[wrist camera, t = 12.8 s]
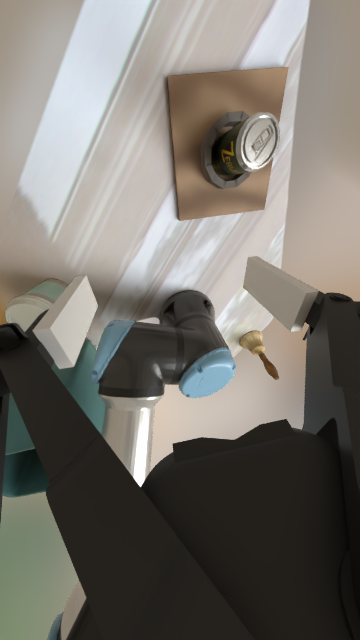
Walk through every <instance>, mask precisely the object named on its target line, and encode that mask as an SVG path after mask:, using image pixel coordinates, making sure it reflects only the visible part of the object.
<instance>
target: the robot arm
mask: <svg viewBox="0 0 360 640" xmlns="http://www.w3.org/2000/svg"><path fill="white" fill-rule="evenodd" d="M243 288H244V289H246V290H247V291H248V292H249V293H250V294H251V295H252V296H253V297H254V298H255V299H256V300H257V301H258V302H259V303H260V304H261V305H263V306H264V307H265V308H266V309H267V310H268V311H269V312H270V313H271V314H272V315H273V316H274V317H275V318H277V320H279V321H280V322H281V323H282V324H283V325H284V326H285V327H286V328H287V329H288V330H289V331H290V332H291V331H297V330H302V327H303V325H304V323H305V322H306V323H307V324H309V325H310V326H309V328H308V330H307V332H306V334H305V336H304V338H303V340H305V339H306V338H307V349H306V378H305V380H306V381H305V406H304V425H303V428H302V430H301V429H296V428H292V427H291V426H290V424H289V423H288V421H287V420H286V419H284V420H279V421H275V422H270V423H266V424H261V425H259V426H257V427H255V428H254V429H252V430H251V431H249V432H247V433H246V434H244V435H242V436H241V437H239V438H237V439H235V440H227V439H216V438H202V437H201V438H197V439H192V440H188V441H183V442H178V443H174V444H173V453H171V454H169V455H168V456H166V457H165V458H164V459H163V460H161V461H160V462H159V463H158V464H157V465H156V466H155V467H154V468H153V470H152V471H151V472H150V461H151V447H152V435H153V422H154V410H155V404H156V403H157V402H158V401H159V400H160V399H161V398H162V397H163V396H164V387H165V384H172V385H173V384H174V385H179V389H180V391H181V392H182V394H183V395H186V396H187V397H190V398H200V397H204V396H208V395H211V394H213V393H215V392H217V391H218V390H220V389H222V388H223V387H225V386H226V385H227V384H228V383H229V382H230V381H231V379H232V378H233V376H234V374H235V369H236V366H235V363H234V360H233V357H232V355H231V351H230V350H229V348H228V346H227V344H226V343H225V341H224V339H223V337H222V335H221V334H220V332H219V330H218V328H217V326H216V325H215V311H214V307H213V305H212V303H211V301H210V300H209V298H208V297H207V296H206V295H204V294H203V293H200V292H197V291H183V292H180V293H177V294H175V295H173V296H172V297H171V298H169V299H168V300H167V301H166V303H165V304H164V306H163V308H162V311H161V320H162V325H159V324H151V323H143V322H136V321H135V320H133V321H123V320H114V321H112V322H110V323H109V324H108V325H107V326H106V328H105V330H104V332H103V334H102V337H101V339H100V342H99V345H98V348H97V351H96V354H95V358H94V361H93V366H92V372H91V376H90V380H91V382H93V383H95V384H98V383H99V389H98V396H99V397H100V398H101V400H102V401H103V402H104V403H105V412H104V419H103V426H102V433H101V434H100V432H99V431H98V430H97V428H96V427H95V426H94V424H93V423H92V422H91V420H90V419H89V418H88V416H87V415H86V414H85V412H84V411H83V410H82V408H81V407H80V406H79V404H78V403H77V402H76V400H75V399H74V398H73V396H72V395H71V394H70V392H69V391H68V390H67V388H66V387H65V386H64V384H63V383H62V382H61V380H60V379H59V378H58V376H57V375H56V374H55V372H54V371H53V370H52V366H53V364H54V362H55V364H56V365H57V366H58V368H59V369H63V368H69V367H74V365H75V363H76V360H77V358H78V355H79V353H80V350H81V348H82V345H83V343H84V340H85V338H86V335H87V332H88V330H89V327H90V325H91V322H92V320H93V317H94V315H95V312H96V310H97V307H98V305H97V302H96V299H95V297H94V294H93V291H92V289H91V286H90V284H89V281H88V278H87V276H86V275H83V276H76V277H75V278H74V279H73V280H72V282H71V283H70V284H69V285H68V287H67V288H66V289H65V290H64V292H63V293H62V294H61V295H60V297H59V298H58V299H57V300H56V302H55V303H54V304H53V305H52V307H51V308H50V309H47V310H46V311H44V312H43V313H41V314H40V315H39V316H38V317H37V318H36V319H35V321H34V322H33V323H32V325H30V327H29V328H28V329H27V330H26V331H25V332H24V331H23V330H22V328H21V327H20V326H19V324H17V323H7V324H3V325H0V521H1V507H2V494H3V480H4V466H5V452H6V439H7V425H8V411H9V397H10V393H11V394H12V396H13V398H14V401H15V403H16V405H17V408H18V410H19V412H20V415H21V417H22V419H23V422H24V424H25V426H26V428H27V431H28V433H29V435H30V438H31V440H32V442H33V445H34V447H35V449H36V452H37V454H38V456H39V458H40V461H41V463H42V465H43V468H44V470H45V472H46V475H47V477H48V480H49V485H48V487H47V488H46V496H47V499H48V503H49V505H50V508H51V510H52V513H53V516H54V518H55V521H56V523H57V526H58V528H59V531H60V533H61V536H62V538H63V541H64V543H65V545H66V548H67V551H68V553H69V555H70V558H71V561H72V563H73V566H74V568H75V571H76V573H77V575H78V578H79V582H78V583H77V584H76V586H75V587H74V589H73V591H72V592H71V594H70V596H69V598H68V600H67V603H66V606H65V608H64V611H63V612H62V613H61V614H59V615H58V616H57V617H56V619H55V620H54V622H53V624H52V626H51V629H50V632H49V635H48V638H47V640H360V302H356V301H355V302H354V301H353V300H352V299H351V298H350V297H348V296H345V295H343V294H340V293H326V294H324V293H322V292H320V291H318V290H317V289H315V288H313V287H311V286H309V285H308V284H306V283H304V282H302V281H300V280H298V279H297V278H295V277H293V276H291V275H289V274H288V273H286V272H284V271H282V270H280V269H279V268H277V267H275V266H273V265H271V264H270V263H268V262H266V261H264V260H262V259H261V258H259V257H257V256H255V257H248V261H247V267H246V273H245V279H244V284H243Z"/></svg>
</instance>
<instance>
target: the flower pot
mask: <svg viewBox="0 0 360 640" xmlns="http://www.w3.org/2000/svg"><path fill="white" fill-rule="evenodd" d="M96 351H97V350H96V349H95V347H94V346H93V344H92V343H91V341H90V340H87V339H86V340H84V343H83V345H82V348H81V350H80V353H79V355H78V358H77V360H76V363H75V365H74V367H69V368H63V369H59V368H58V366H57V365H56V364H55V362H54V364H53V366H52V370H53V371H54V372H55V374H56V375H57V376H58V378H59V379H60V380H61V382H62V383H63V384H64V386H65V387H66V388H67V390H68V391H69V392H70V394H71V395H72V396H73V398H74V399H75V400H76V402H77V403H78V404H79V406H80V407H81V408H82V410H83V411H84V412H85V414H86V415H87V416H88V418H89V419H90V420H91V422H92V423H93V424H94V426H95V427H96V428H97V430H98V431H99V432H100V434H101V433H102V426H103V419H104V412H105V403H104V402H103V401H102V400H101V398H100V397H99V396H98V389H99V383H98V384H95V383H93V382H91V380H90V376H91V372H92V366H93V361H94V358H95V354H96ZM48 485H49V480H48V477H47V475H46V472H45V470H44V468H43V465H42V463H41V461H40V458H39V456H38V454H37V452H36V449H35V447H34V445H33V442H32V440H31V438H30V435H29V433H28V431H27V428H26V426H25V424H24V422H23V419H22V417H21V415H20V412H19V410H18V408H17V405H16V403H15V401H14V398H13V396H12V394H11V393H10V397H9V411H8V425H7V439H6V452H5V466H4V480H3V494H2V496H6V497H21V496H26V495H31V494H36V493H41V492H46V488H47V487H48Z"/></svg>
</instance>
